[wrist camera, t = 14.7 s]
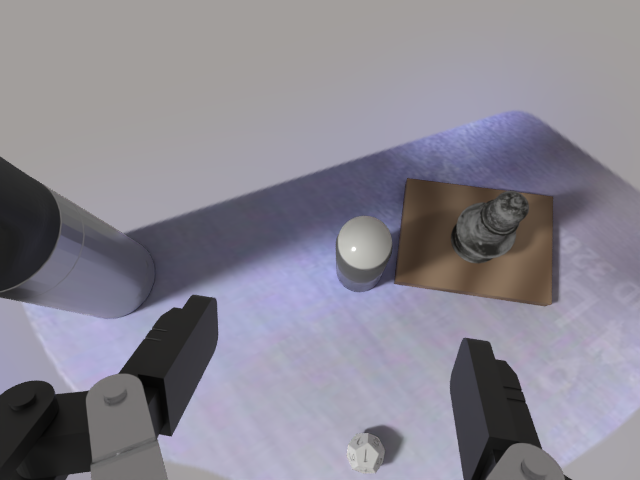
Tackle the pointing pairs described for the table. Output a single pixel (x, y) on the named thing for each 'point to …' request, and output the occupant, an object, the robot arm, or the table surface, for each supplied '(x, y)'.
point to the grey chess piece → (489, 227)
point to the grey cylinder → (362, 253)
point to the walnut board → (462, 276)
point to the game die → (365, 453)
